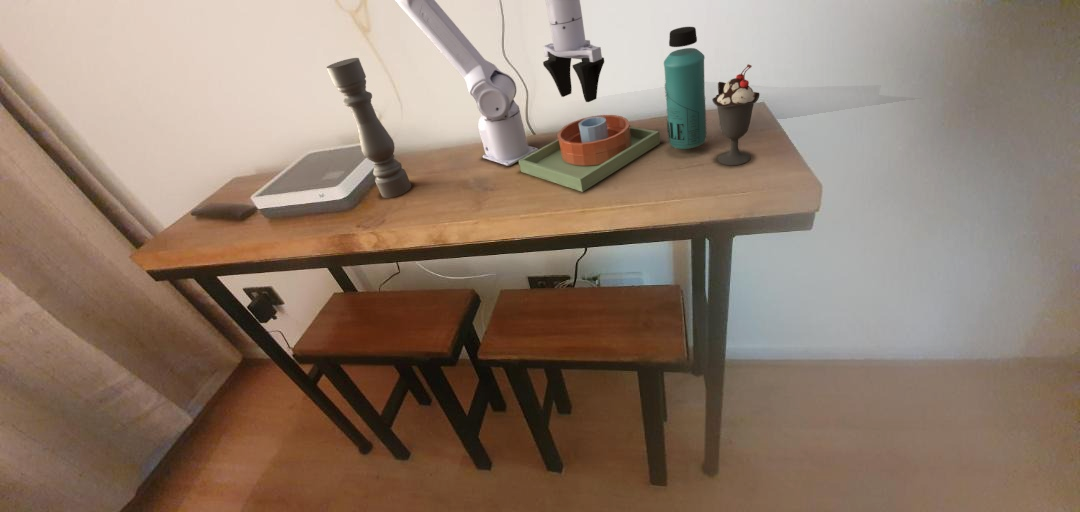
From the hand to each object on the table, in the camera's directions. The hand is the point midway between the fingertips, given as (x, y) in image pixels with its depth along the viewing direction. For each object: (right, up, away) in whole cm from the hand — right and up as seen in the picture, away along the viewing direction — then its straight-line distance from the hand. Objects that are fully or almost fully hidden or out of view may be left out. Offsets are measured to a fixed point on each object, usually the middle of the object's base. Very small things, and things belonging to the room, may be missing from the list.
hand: (578, 97), depth 91 cm
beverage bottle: (+19, -11, -6) cm, 23 cm away
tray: (+2, -12, 0) cm, 12 cm away
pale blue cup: (+3, -10, 0) cm, 10 cm away
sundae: (+24, -14, -12) cm, 31 cm away
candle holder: (-36, -17, +6) cm, 40 cm away
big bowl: (+4, -11, 0) cm, 11 cm away
